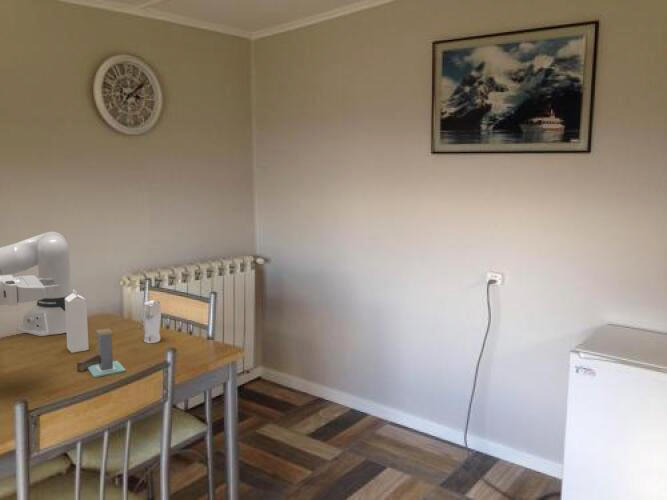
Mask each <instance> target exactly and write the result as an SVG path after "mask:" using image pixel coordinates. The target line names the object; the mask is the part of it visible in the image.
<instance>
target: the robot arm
mask: <svg viewBox="0 0 667 500" xmlns="http://www.w3.org/2000/svg"><path fill="white" fill-rule="evenodd" d="M36 266H37V269H38V277H37V276H36V275H34V274H33V275H32V274H31V275H20V276H13V275H15V274H18V273H23V272H26V271H28V270H29V269H31V268H34V267H36ZM70 266H71V265H70V246H69V244H68V242H67V240H66V238H65V236H64V235H63V234H61V233H59V232H57V231H46V232H43V233H40V234H38V235H35V236H31V237H30V238H27V239H23V240H21V241H17V242H16V243H11V244H9V245H8V244H7V245H5V246H1V247H0V306H5V305H7V306H11V307H12V306H13V307H15V306H18V303H19V304H21V303H23V304H24V303H28V302H31V303H32V302H36V301H37V302H36V305H34V307H32V308H31V309H29V310H28V311H26V313H25V314H24V316H23V321H22V324H20V325H19V326H17V327H16V331H17V332H22V333H24V334H25V333H26V334H30V335H34V336H39V337H46V336H50V335H61V334H65V333H66V314H65V298H66V297H68V296H69V295H71V294H72V293H71V277H70V275H71V274H70V271H71V269H70ZM66 334H67V333H66Z"/></svg>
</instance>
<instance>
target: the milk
mask: <svg viewBox="0 0 667 500" xmlns="http://www.w3.org/2000/svg"><path fill="white" fill-rule="evenodd" d="M65 314H66V347H67V350H69V352H70V353H71V354H74V353H79V352H83V351H89V329H88V328H89V327H88V309H87V299H86V298H85V297H83V296H82V295H80V294H78V291H76V289H74V288H73V289H72V293H71V295H69V296H68V297H66V298H65Z"/></svg>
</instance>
